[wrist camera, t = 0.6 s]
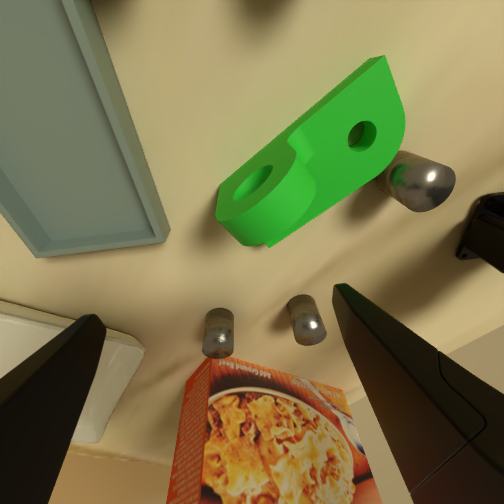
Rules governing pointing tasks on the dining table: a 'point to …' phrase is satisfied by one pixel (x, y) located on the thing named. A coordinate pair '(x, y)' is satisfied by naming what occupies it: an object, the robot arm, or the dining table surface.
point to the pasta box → (266, 441)
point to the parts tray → (69, 136)
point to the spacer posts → (303, 306)
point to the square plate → (107, 375)
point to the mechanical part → (315, 159)
